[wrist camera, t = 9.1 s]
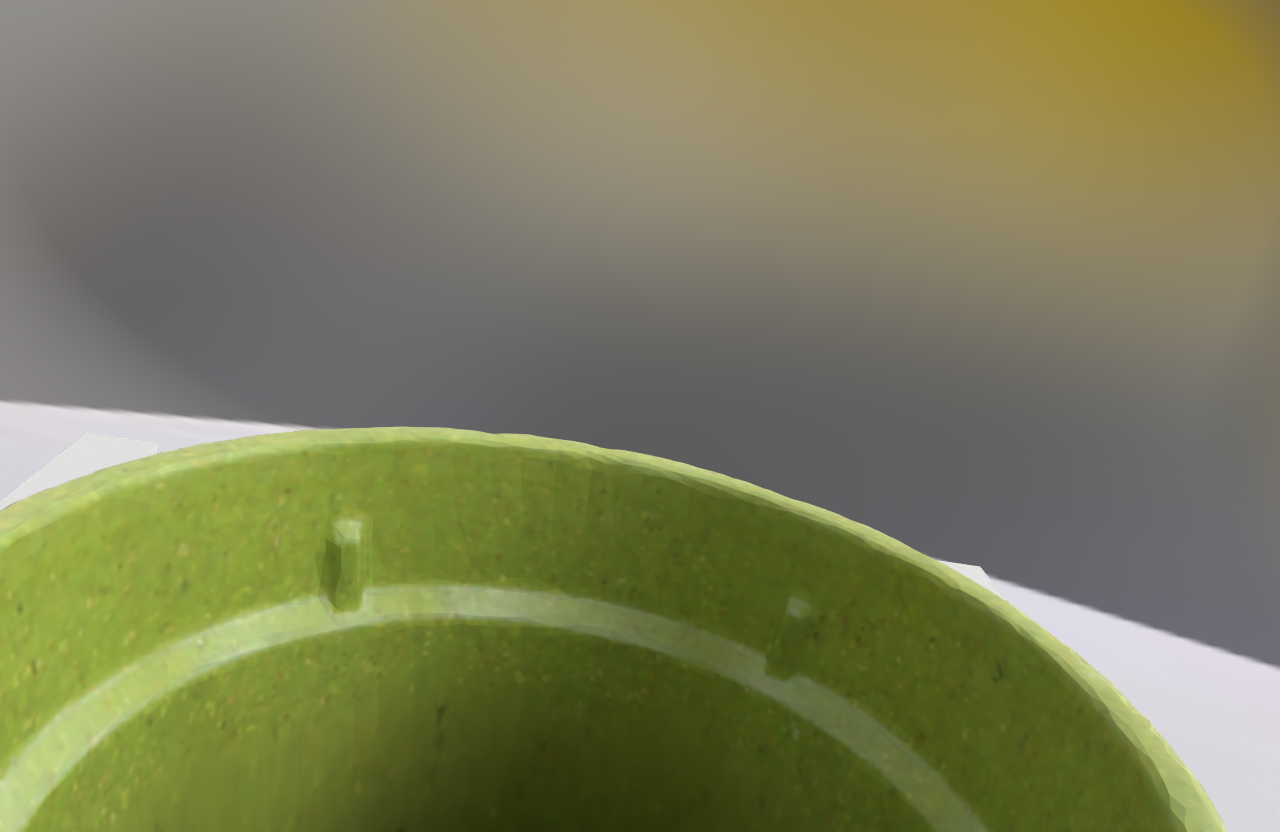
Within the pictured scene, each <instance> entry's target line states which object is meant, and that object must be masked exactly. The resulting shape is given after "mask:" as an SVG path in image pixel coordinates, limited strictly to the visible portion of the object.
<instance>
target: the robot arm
mask: <svg viewBox="0 0 1280 832" xmlns="http://www.w3.org/2000/svg"><path fill="white" fill-rule="evenodd" d="M157 453H158V443H156V442H149V441H142V440H136V439H129V438H122V437H116V436H109V435H102V434H96V433H89V432H88V433H86V434H85V435H84V436H82V437H81V438H80V439H79V440H77V441H76V442H75V443H74V444H72V445H71V446H70V447H69V448H67V449H66V450H65V451H63V452H62V453H61V454H60V455H58V456H57V457H56V458H55V459H53V460H52V461H51V462H50V463H48V464H47V465H46V466H45V467H43V468H42V469H41V470H39V471H38V472H37V473H36V474H34V475H33V476H32V477H31V478H29V479H28V480H27V481H26V482H24V483H23V484H22V485H20V486H19V487H18V488H17V489H15V490H14V491H13V492H12V493H10V494H9V495H8V496H7V497H5V498H4V499H3V500H2V501H0V511H1V510H3V509H4V508H6V507H7V506H9V505H10V504H12V503H14V502H17V501H19V500H22V499H24V498H27V497H29V496H31V495H33V494H36V493H38V492H40V491H42V490H45V489H48V488H53V487H56V486H58V485H60V484H63V483H65V482H67V481H70V480H72V479H76V478H79V477H82V476H85V475H89V474H92V473H94V472H95V471H98V470H101V469H104V468H107V467H111V466H114V465H118V464H122V463H125V462H129V461H133V460H136V459H140V458H143V457H147V456H150V455H154V454H157ZM937 561H938V560H937ZM939 562H941V563H943V564H945V565H947V566H949V567H950V568H952V569H954V570H955V571H957V572H959V573H961V574H962V575H964V576H966V577H968V578H969V579H971V580H973V581H974V582H976V583H978V584H979V585H981V586H983V587H984V588H986V589H988V590H989V591H991V592H993V593H995V594H996V595H998V596H1000V597H1001V598H1002V599H1004V598H1003V596H1002V595H1001V594H1000V592H999V591H998V590H997V588H996V587H995V586H994V584H993V583H992V582H991V580H990V579H989V578H988V576H987V575H986V574H985V572H984V571H983V570H982V569H981V567H978V566H971V565H965V564H958V563H952V562H945V561H939ZM1004 600H1005V599H1004ZM1005 601H1006V600H1005Z"/></svg>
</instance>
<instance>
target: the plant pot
mask: <svg viewBox="0 0 1280 832" xmlns="http://www.w3.org/2000/svg"><path fill="white" fill-rule="evenodd" d="M0 832H1227V831H1226V828H1225V826H1224V823H1223V821H1222V819H1221V817H1220V815H1219V814H1218V812H1217V810H1216V809H1215V807H1214V805H1213V803H1212V802H1211V800H1210V798H1209V797H1208V795H1207V793H1206V791H1205V790H1204V788H1203V786H1202V785H1201V783H1200V782H1199V781H1198V780H1197V779H1196V777H1195V776H1194V775H1193V774H1192V773H1191V771H1190V770H1189V769H1188V768H1187V766H1186V765H1185V764H1184V763H1183V761H1182V760H1181V759H1180V758H1179V756H1178V755H1177V754H1176V753H1175V751H1174V750H1173V749H1172V748H1171V746H1170V745H1169V744H1168V743H1167V742H1166V740H1165V739H1164V738H1163V737H1162V736H1161V735H1160V734H1159V733H1158V732H1157V731H1156V730H1155V729H1154V727H1153V726H1152V724H1151V722H1150V721H1149V720H1148V719H1147V718H1145V717H1144V716H1143V715H1142V714H1141V713H1140V712H1138V711H1137V710H1136V709H1135V708H1134V707H1133V706H1132V705H1131V704H1130V702H1129V701H1128V700H1127V698H1126V697H1125V696H1124V695H1123V694H1122V693H1121V692H1120V691H1119V690H1118V689H1117V688H1116V687H1115V686H1114V685H1113V684H1112V683H1111V682H1110V681H1109V680H1108V679H1107V678H1106V677H1104V676H1103V675H1102V674H1101V673H1099V672H1098V671H1097V670H1096V669H1095V668H1093V667H1092V666H1091V665H1090V664H1089V663H1088V662H1087V661H1085V660H1084V659H1083V658H1082V657H1081V656H1080V655H1079V654H1078V653H1076V652H1075V651H1074V650H1073V649H1071V648H1070V647H1068V646H1066V645H1064V644H1062V643H1061V642H1060V641H1059V640H1057V639H1056V638H1055V637H1054V636H1052V635H1051V634H1050V633H1049V632H1047V631H1046V630H1045V629H1044V628H1042V627H1041V626H1040V625H1038V624H1037V623H1036V622H1034V621H1033V620H1031V619H1030V618H1028V617H1027V616H1025V615H1024V614H1023V613H1022V612H1021V611H1019V610H1018V609H1017V608H1016V607H1015V606H1014V605H1012V604H1010V603H1009V602H1007V601H1005V600H1004V599H1002V598H1001V597H1000V596H998V595H996V594H995V593H993V592H991V591H989V590H988V589H986V588H984V587H983V586H981V585H979V584H978V583H976V582H974V581H973V580H971V579H969V578H968V577H966V576H964V575H962V574H961V573H959V572H957V571H955V570H954V569H952V568H950V567H949V566H947V565H945V564H943V563H941V562H939V561H937V560H935V559H933V558H930V557H928V556H926V555H924V554H922V553H920V552H917V551H916V550H914V549H912V548H910V547H909V546H907V545H905V544H903V543H901V542H900V541H898V540H896V539H893V538H891V537H889V536H887V535H885V534H883V533H881V532H879V531H877V530H875V529H872V528H870V527H868V526H866V525H863V524H860V523H857V522H854V521H852V520H849V519H847V518H845V517H842V516H840V515H838V514H836V513H833V512H831V511H828V510H825V509H822V508H819V507H816V506H814V505H811V504H808V503H804V502H801V501H796V500H793V499H790V498H787V497H785V496H782V495H780V494H777V493H775V492H773V491H770V490H767V489H763V488H761V487H758V486H756V485H753V484H751V483H748V482H745V481H742V480H738V479H734V478H731V477H728V476H725V475H723V474H719V473H716V472H712V471H708V470H704V469H701V468H697V467H694V466H691V465H688V464H684V463H680V462H676V461H672V460H668V459H664V458H659V457H655V456H650V455H646V454H641V453H635V452H630V451H625V450H610V449H605V448H599V447H596V446H593V445H589V444H586V443H580V442H575V441H568V440H560V439H552V438H545V437H538V436H533V435H527V434H490V433H485V432H479V431H472V430H459V429H452V428H434V427H433V428H432V427H429V428H428V427H377V428H349V429H327V430H301V431H294V432H284V433H275V434H266V435H257V436H249V437H242V438H238V439H233V440H225V441H220V442H211V443H203V444H198V445H193V446H189V447H184V448H181V449H177V450H174V451H167V452H160V453H157V454H154V455H150V456H147V457H143V458H140V459H136V460H133V461H129V462H125V463H122V464H118V465H114V466H111V467H107V468H104V469H101V470H98V471H95V472H94V473H92V474H89V475H85V476H82V477H79V478H76V479H72V480H70V481H67V482H65V483H63V484H60V485H58V486H56V487H53V488H48V489H45V490H42V491H40V492H38V493H36V494H33V495H31V496H29V497H27V498H24V499H22V500H19V501H17V502H14V503H12V504H10V505H9V506H7V507H6V508H4V509H3V510H1V511H0Z"/></svg>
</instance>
